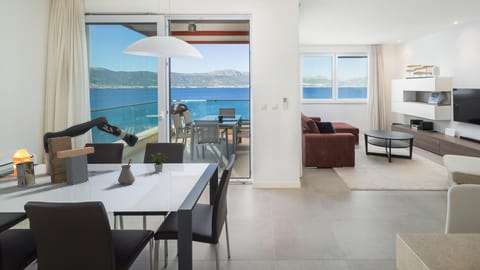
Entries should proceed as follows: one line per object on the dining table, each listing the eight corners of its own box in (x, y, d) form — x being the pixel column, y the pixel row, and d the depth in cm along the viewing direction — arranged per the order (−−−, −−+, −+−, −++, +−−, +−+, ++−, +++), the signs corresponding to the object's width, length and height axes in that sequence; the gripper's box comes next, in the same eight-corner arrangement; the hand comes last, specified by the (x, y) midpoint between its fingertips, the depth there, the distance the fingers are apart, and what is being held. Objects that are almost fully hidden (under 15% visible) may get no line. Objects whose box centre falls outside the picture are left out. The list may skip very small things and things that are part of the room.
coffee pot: (132, 185, 237) (131, 164, 235) (115, 186, 236) (114, 164, 234) (139, 178, 258) (138, 158, 256) (124, 178, 257) (123, 158, 255)
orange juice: (31, 173, 276) (29, 148, 274) (23, 176, 267) (21, 150, 265) (22, 173, 277) (20, 148, 275) (14, 175, 269) (12, 150, 266)
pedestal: (67, 183, 243) (65, 156, 240) (82, 180, 253) (80, 153, 251) (73, 185, 239) (71, 156, 237) (88, 181, 250) (86, 154, 247)
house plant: (156, 174, 268) (155, 154, 266) (145, 172, 276) (144, 152, 274) (170, 171, 279) (169, 151, 278) (159, 169, 288) (158, 149, 286)
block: (57, 157, 234) (56, 152, 233) (90, 152, 256) (90, 146, 256) (60, 158, 232) (60, 152, 231) (94, 152, 254) (93, 147, 254)
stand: (51, 182, 246) (47, 138, 242) (69, 178, 258) (66, 136, 254) (55, 183, 243) (52, 139, 239) (74, 179, 255) (71, 136, 251)
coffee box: (28, 183, 246) (26, 161, 244) (35, 183, 244) (33, 161, 242) (17, 186, 237) (15, 163, 235) (25, 187, 235) (23, 164, 233)
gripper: (114, 128, 287) (99, 119, 274) (126, 129, 280) (111, 120, 267) (111, 136, 285) (95, 128, 272) (122, 137, 277) (107, 129, 265)
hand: (103, 124), depth 270 cm, fingers open, 8 cm apart
